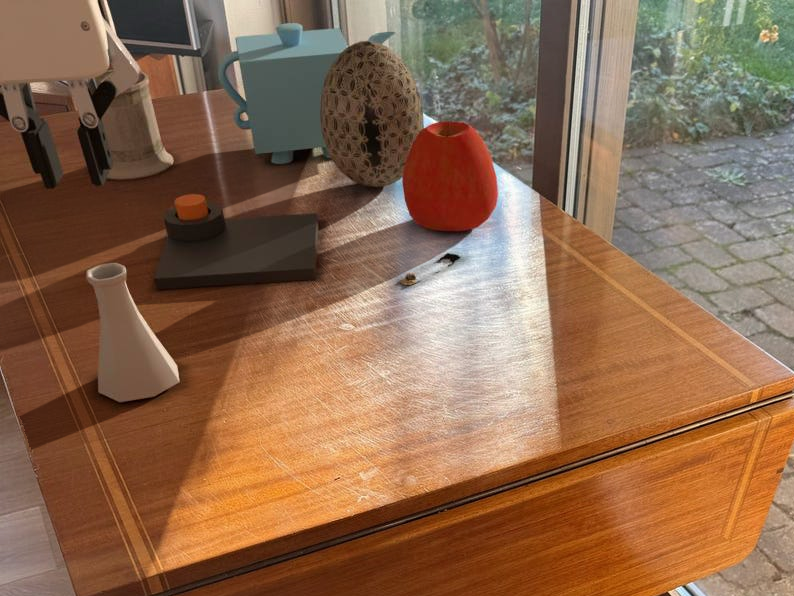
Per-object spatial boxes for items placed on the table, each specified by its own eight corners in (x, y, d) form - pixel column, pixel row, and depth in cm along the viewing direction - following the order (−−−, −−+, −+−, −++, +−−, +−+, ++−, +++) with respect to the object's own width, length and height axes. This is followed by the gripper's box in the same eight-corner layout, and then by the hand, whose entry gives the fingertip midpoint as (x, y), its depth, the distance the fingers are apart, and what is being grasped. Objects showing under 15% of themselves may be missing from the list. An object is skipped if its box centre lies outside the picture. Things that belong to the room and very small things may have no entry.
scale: (156, 290, 99) (148, 260, 97) (174, 230, 109) (167, 203, 107) (315, 279, 100) (311, 250, 97) (319, 222, 110) (315, 194, 108)
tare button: (176, 223, 104) (172, 206, 103) (180, 211, 106) (176, 194, 105) (207, 221, 104) (203, 204, 103) (210, 209, 106) (206, 193, 105)
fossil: (448, 257, 103) (448, 250, 103) (462, 262, 102) (462, 254, 102) (397, 285, 99) (396, 277, 98) (411, 290, 98) (410, 282, 97)
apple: (416, 248, 104) (408, 143, 97) (396, 211, 111) (388, 111, 104) (508, 235, 106) (508, 131, 98) (483, 200, 113) (481, 100, 106)
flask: (194, 386, 85) (165, 274, 78) (114, 413, 83) (76, 300, 76) (162, 352, 90) (132, 244, 83) (85, 377, 87) (47, 267, 80)
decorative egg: (426, 164, 121) (418, 25, 111) (428, 201, 113) (419, 54, 103) (331, 168, 121) (314, 29, 111) (326, 206, 113) (307, 59, 102)
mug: (186, 166, 123) (161, 58, 115) (111, 185, 119) (80, 75, 110) (139, 136, 131) (113, 34, 123) (68, 153, 127) (36, 49, 119)
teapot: (235, 170, 121) (211, 44, 112) (231, 140, 129) (208, 20, 119) (410, 152, 124) (401, 28, 115) (396, 124, 132) (387, 5, 122)
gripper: (127, -140, 64) (192, 157, 77) (-128, -128, 63) (-19, 169, 76) (107, -122, 59) (181, 193, 72) (-172, -109, 58) (-46, 207, 71)
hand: (77, 178), depth 74 cm, fingers closed
